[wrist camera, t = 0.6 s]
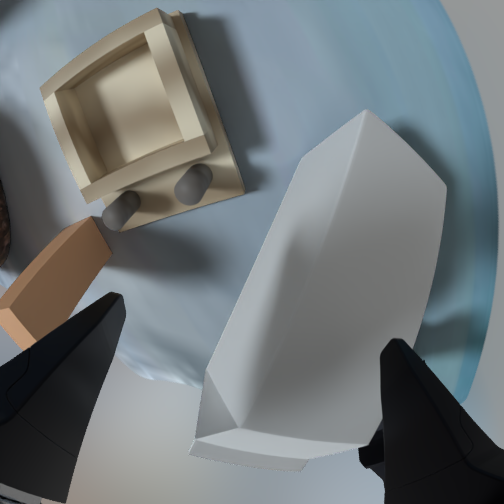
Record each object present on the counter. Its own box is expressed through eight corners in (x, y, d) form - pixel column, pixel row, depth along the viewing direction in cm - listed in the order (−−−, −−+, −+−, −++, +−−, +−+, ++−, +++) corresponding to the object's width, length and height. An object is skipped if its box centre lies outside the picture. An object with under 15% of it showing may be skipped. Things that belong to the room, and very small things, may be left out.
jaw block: (112, 253, 24) (47, 353, 14) (84, 262, 25) (23, 351, 15) (91, 215, 22) (8, 307, 12) (64, 228, 22) (-10, 311, 12)
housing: (245, 189, 20) (240, 213, 16) (124, 226, 22) (103, 253, 19) (182, 13, 12) (161, -2, 9) (62, 84, 15) (29, 90, 11)
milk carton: (367, 104, 11) (199, 497, 7) (448, 184, 13) (330, 502, 9) (302, 155, 18) (181, 421, 14) (375, 207, 20) (278, 444, 16)
